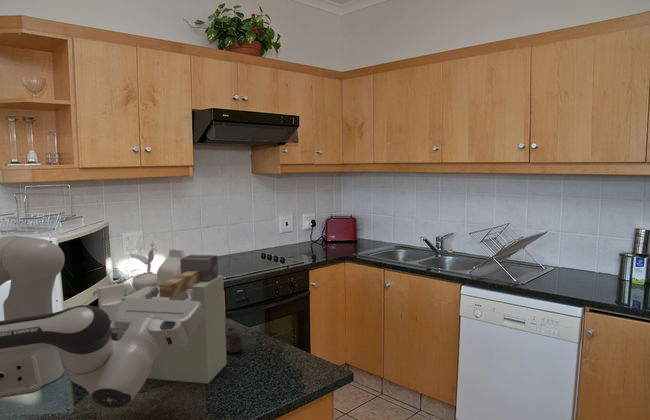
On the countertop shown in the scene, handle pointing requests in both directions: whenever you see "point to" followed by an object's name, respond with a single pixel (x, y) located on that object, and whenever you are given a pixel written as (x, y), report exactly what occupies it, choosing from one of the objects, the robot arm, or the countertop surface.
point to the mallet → (191, 274)
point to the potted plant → (148, 277)
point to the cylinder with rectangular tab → (110, 298)
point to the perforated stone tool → (232, 339)
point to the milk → (170, 266)
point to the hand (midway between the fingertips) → (173, 289)
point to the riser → (195, 338)
